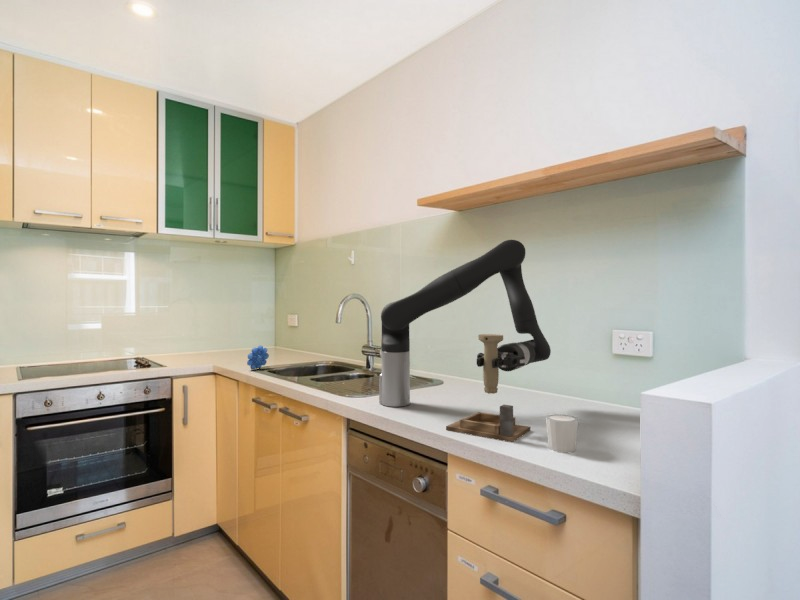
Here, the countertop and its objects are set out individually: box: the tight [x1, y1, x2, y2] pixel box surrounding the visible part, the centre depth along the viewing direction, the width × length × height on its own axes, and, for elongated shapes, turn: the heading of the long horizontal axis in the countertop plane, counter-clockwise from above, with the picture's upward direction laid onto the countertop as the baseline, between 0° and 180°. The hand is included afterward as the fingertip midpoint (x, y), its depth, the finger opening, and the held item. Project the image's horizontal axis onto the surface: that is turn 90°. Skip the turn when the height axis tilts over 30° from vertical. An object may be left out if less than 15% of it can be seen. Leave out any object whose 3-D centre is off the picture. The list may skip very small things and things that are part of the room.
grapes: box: [246, 345, 270, 370], centre depth 230 cm, size 12×7×12 cm, turn 136°
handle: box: [477, 333, 504, 395], centre depth 119 cm, size 5×6×15 cm
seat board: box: [445, 404, 531, 443], centre depth 118 cm, size 18×12×8 cm, turn 54°
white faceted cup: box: [545, 414, 579, 454], centre depth 103 cm, size 7×7×7 cm
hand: (486, 363), depth 117 cm, fingers closed on handle, 3 cm apart
